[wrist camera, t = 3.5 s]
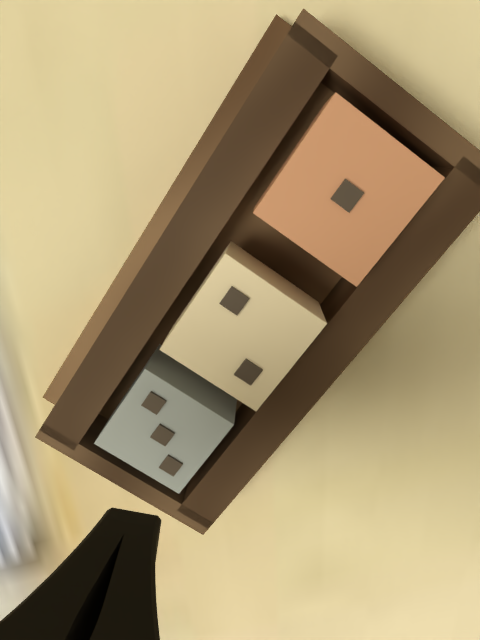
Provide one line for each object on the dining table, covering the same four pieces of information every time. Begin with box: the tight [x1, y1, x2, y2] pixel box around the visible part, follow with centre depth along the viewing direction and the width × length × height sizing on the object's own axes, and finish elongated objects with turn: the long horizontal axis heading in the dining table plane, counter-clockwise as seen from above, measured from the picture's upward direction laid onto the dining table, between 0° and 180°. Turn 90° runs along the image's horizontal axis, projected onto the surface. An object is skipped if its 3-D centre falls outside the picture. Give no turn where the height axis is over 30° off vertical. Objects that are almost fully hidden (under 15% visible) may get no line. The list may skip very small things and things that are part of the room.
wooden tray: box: [35, 9, 480, 534], centre depth 18 cm, size 10×18×3 cm, turn 145°
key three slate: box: [94, 344, 237, 494], centre depth 19 cm, size 4×4×3 cm
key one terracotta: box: [253, 92, 445, 287], centre depth 15 cm, size 4×4×3 cm
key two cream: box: [160, 241, 327, 411], centre depth 16 cm, size 4×4×3 cm
